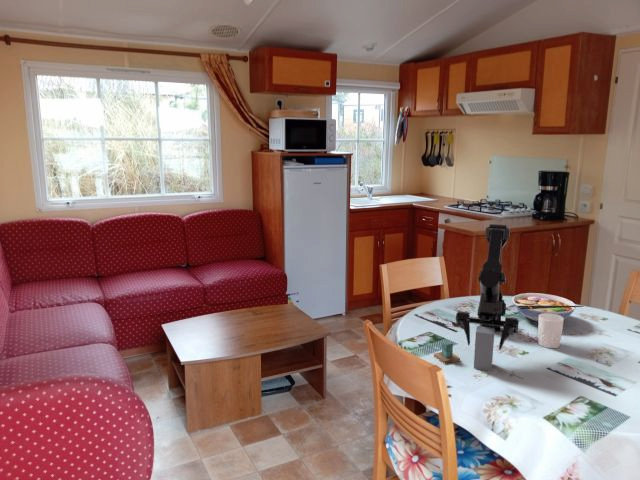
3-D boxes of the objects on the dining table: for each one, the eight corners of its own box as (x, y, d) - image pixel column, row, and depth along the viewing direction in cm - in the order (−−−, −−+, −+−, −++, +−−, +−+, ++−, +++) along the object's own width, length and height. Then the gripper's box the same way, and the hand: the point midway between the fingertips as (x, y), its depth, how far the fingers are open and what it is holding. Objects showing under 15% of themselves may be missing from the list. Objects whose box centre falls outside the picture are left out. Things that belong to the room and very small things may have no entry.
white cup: (561, 342, 176) (563, 315, 174) (561, 350, 169) (564, 322, 167) (536, 338, 180) (539, 311, 177) (535, 346, 173) (538, 319, 170)
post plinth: (449, 353, 168) (450, 338, 167) (460, 361, 162) (461, 345, 161) (433, 356, 166) (434, 340, 165) (444, 363, 160) (444, 347, 159)
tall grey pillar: (475, 361, 162) (477, 325, 160) (492, 363, 160) (494, 328, 158) (473, 367, 157) (475, 331, 155) (491, 370, 156) (493, 334, 153)
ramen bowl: (558, 309, 209) (560, 290, 207) (589, 330, 186) (591, 309, 185) (499, 310, 208) (500, 291, 206) (522, 332, 185) (524, 310, 184)
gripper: (458, 287, 161) (451, 332, 153) (520, 293, 154) (517, 341, 146) (459, 303, 170) (453, 346, 162) (519, 310, 163) (515, 355, 155)
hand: (484, 347), depth 156 cm, fingers open, 9 cm apart
